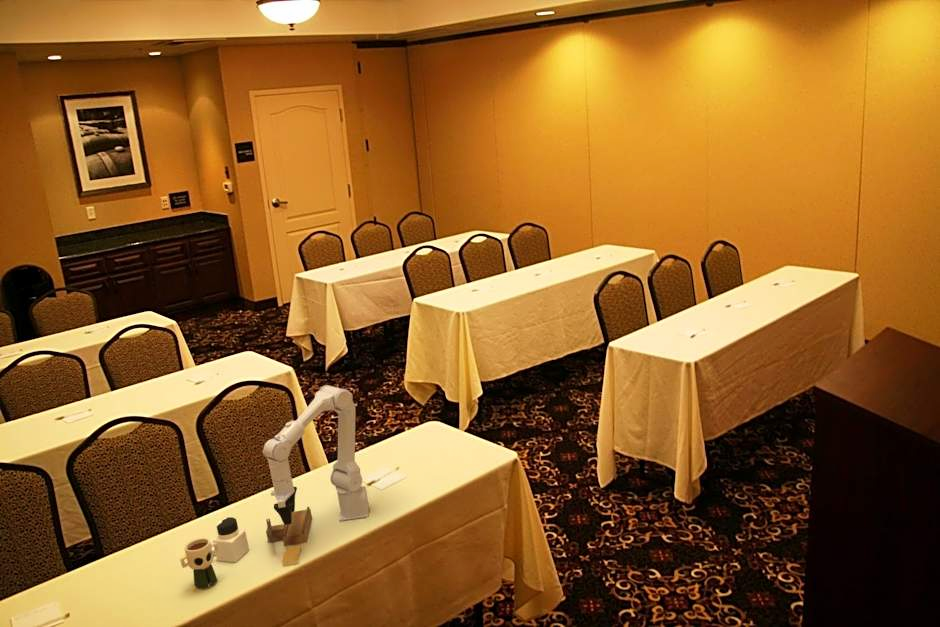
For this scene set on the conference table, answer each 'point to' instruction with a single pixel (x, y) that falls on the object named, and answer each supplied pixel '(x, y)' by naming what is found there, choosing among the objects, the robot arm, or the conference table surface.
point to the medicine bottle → (230, 541)
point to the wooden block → (291, 556)
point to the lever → (270, 530)
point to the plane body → (293, 529)
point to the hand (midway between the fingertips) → (289, 517)
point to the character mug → (201, 561)
